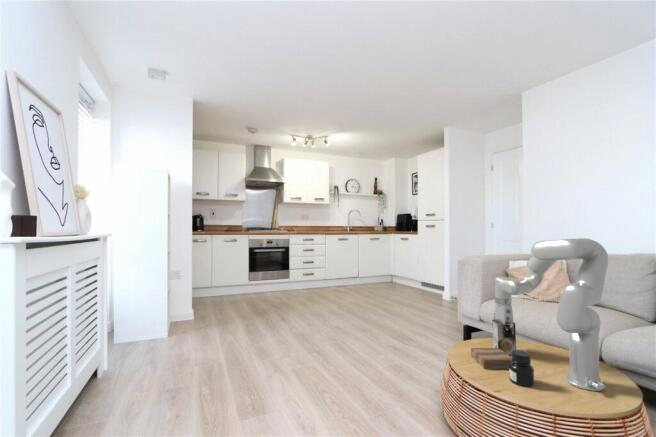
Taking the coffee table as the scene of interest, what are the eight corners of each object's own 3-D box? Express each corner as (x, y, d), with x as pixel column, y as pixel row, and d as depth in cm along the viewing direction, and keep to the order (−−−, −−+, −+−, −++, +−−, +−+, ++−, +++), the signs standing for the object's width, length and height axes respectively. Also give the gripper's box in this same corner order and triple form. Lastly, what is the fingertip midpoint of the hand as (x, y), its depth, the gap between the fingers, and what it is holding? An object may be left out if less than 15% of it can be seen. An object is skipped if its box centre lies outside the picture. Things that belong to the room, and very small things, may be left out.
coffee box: (510, 350, 166) (510, 319, 166) (516, 355, 159) (516, 323, 160) (492, 349, 167) (491, 318, 167) (497, 354, 160) (497, 322, 160)
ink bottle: (510, 374, 139) (510, 347, 139) (534, 380, 134) (533, 351, 134) (508, 383, 131) (507, 354, 131) (533, 390, 126) (533, 359, 126)
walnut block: (515, 368, 144) (515, 360, 144) (484, 368, 144) (484, 359, 145) (499, 356, 158) (499, 348, 158) (471, 356, 158) (471, 348, 159)
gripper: (520, 305, 155) (520, 340, 155) (501, 297, 172) (501, 328, 172) (504, 305, 155) (504, 340, 155) (487, 296, 172) (487, 328, 172)
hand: (503, 334), depth 164 cm, fingers open, 9 cm apart
